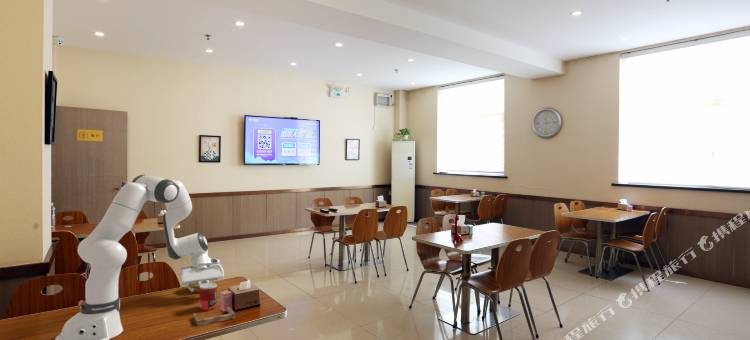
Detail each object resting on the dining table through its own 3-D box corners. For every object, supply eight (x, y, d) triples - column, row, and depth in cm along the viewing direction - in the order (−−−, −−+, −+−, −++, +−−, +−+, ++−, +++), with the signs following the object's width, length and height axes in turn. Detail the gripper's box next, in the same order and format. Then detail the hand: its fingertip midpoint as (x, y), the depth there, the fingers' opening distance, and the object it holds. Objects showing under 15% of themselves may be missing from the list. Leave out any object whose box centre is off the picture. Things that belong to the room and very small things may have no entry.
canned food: (210, 311, 192) (210, 288, 191) (195, 310, 193) (195, 287, 193) (220, 305, 199) (220, 283, 199) (205, 304, 201) (205, 281, 200)
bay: (197, 325, 176) (197, 321, 176) (193, 317, 184) (193, 313, 184) (235, 318, 185) (235, 314, 185) (230, 310, 193) (230, 306, 193)
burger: (220, 288, 224) (220, 270, 224) (200, 295, 212) (200, 276, 211) (202, 284, 230) (202, 266, 229) (181, 291, 217) (181, 272, 217)
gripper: (179, 264, 203) (182, 289, 196) (222, 259, 215) (226, 282, 207) (178, 271, 207) (181, 296, 200) (220, 265, 219) (224, 289, 211)
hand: (204, 289), depth 203 cm, fingers closed
